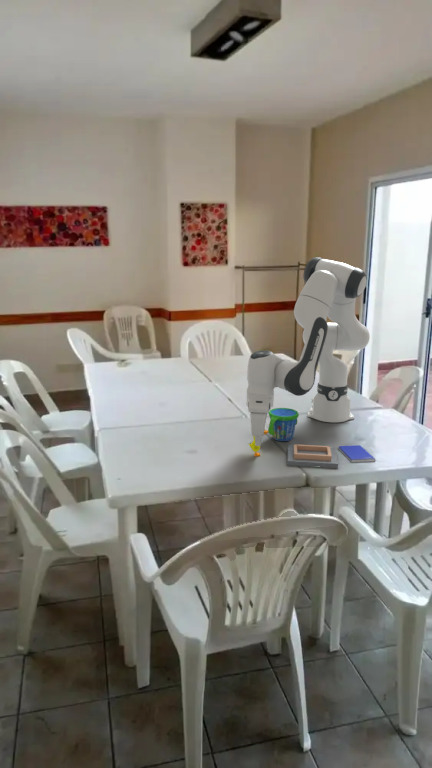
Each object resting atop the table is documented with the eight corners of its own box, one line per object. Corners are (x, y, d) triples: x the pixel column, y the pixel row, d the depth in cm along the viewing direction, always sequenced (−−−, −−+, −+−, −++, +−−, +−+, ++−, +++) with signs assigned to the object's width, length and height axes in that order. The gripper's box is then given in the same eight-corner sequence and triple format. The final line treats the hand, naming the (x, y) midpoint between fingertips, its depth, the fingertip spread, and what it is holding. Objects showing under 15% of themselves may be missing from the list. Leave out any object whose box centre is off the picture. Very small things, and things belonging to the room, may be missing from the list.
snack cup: (279, 447, 197) (280, 419, 195) (257, 439, 205) (258, 412, 202) (307, 437, 207) (308, 410, 205) (285, 430, 215) (286, 404, 212)
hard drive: (375, 458, 186) (360, 444, 198) (351, 459, 185) (338, 445, 196) (375, 462, 186) (360, 449, 198) (351, 463, 185) (338, 450, 197)
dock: (287, 449, 195) (288, 441, 194) (334, 452, 193) (335, 444, 192) (287, 465, 182) (287, 456, 181) (337, 468, 180) (338, 459, 179)
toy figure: (266, 453, 192) (267, 419, 189) (268, 457, 188) (269, 422, 185) (246, 453, 191) (247, 420, 188) (248, 457, 188) (249, 423, 185)
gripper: (252, 391, 195) (251, 429, 198) (248, 408, 175) (247, 450, 179) (270, 392, 194) (269, 430, 198) (268, 409, 175) (267, 451, 178)
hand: (258, 440), depth 188 cm, fingers open, 8 cm apart
